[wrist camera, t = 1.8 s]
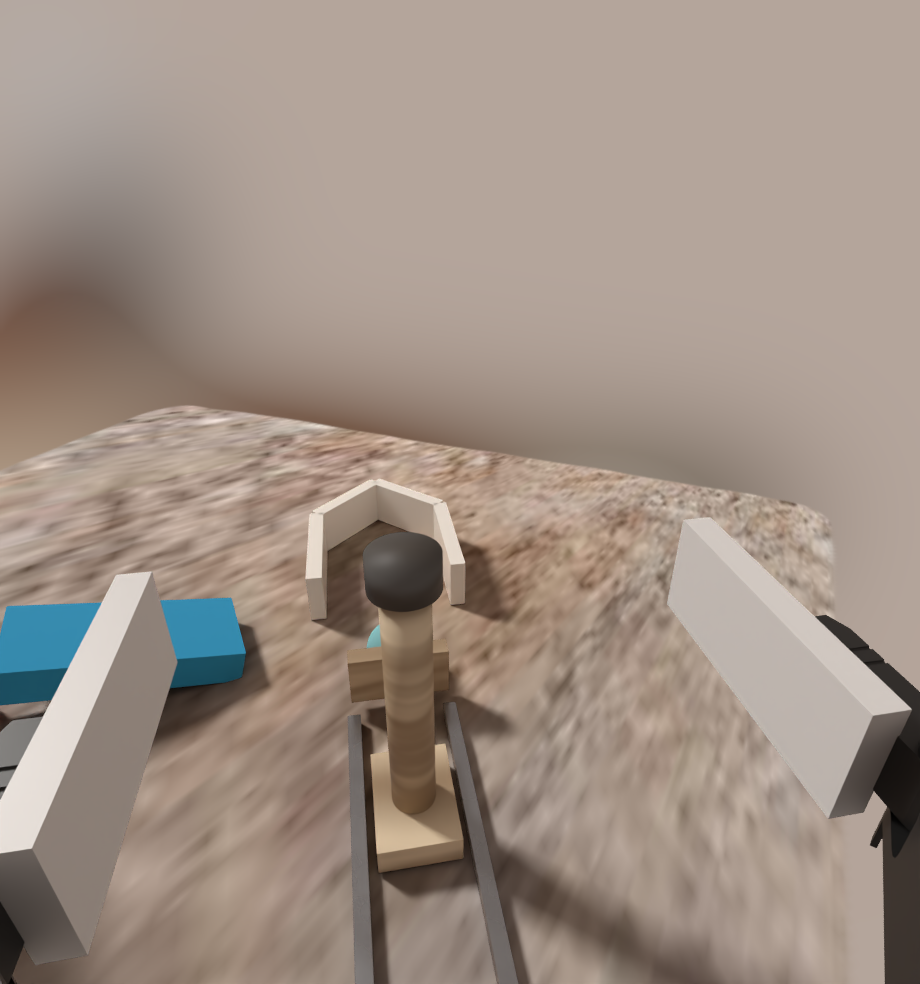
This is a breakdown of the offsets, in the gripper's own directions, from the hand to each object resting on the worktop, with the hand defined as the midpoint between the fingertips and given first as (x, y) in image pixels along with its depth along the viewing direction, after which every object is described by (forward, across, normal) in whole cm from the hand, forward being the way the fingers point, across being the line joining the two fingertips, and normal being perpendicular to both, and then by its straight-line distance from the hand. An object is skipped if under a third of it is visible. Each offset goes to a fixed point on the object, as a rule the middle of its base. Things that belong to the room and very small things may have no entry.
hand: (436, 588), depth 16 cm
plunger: (+13, 0, -23) cm, 26 cm away
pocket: (+36, 0, -23) cm, 43 cm away
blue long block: (+23, -20, -23) cm, 39 cm away
